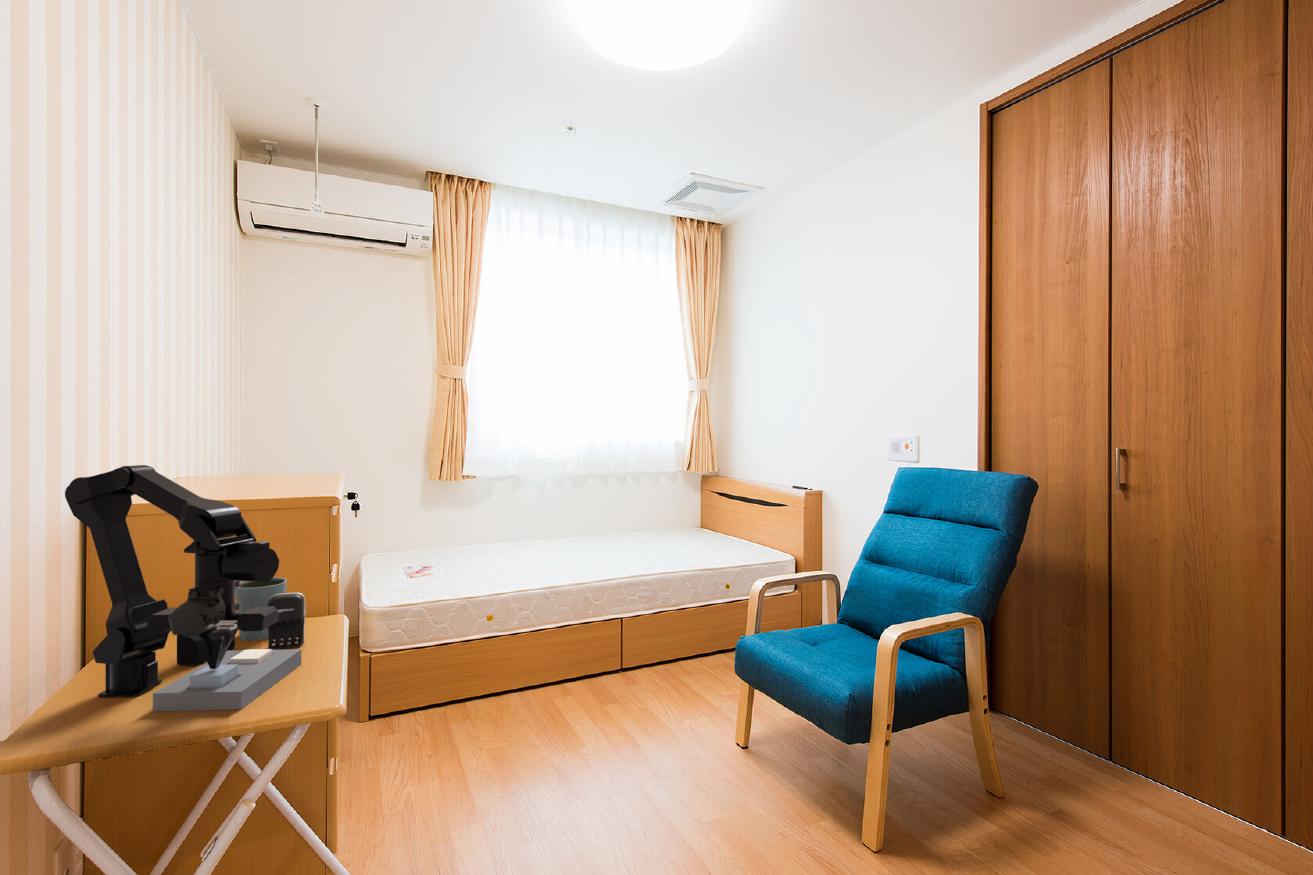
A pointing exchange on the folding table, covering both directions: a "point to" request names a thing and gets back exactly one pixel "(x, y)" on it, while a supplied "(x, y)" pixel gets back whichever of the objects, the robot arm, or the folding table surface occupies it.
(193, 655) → the electronic device
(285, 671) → the key panel
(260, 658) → the ivory key
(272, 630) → the battery charger
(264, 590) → the teal cup
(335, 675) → the folding table surface
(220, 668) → the slate key
